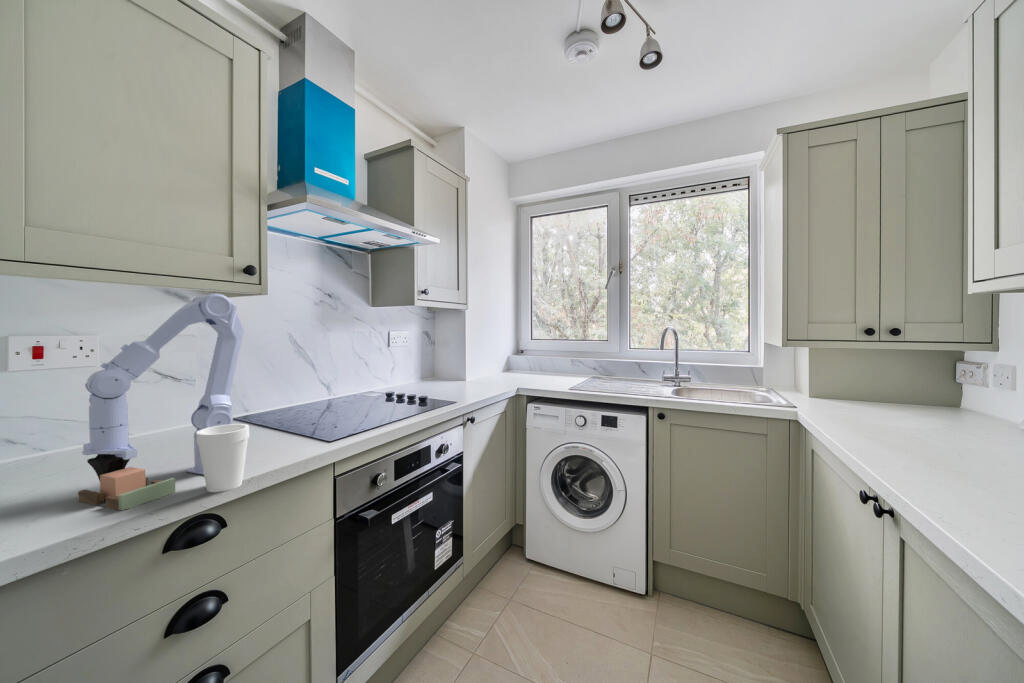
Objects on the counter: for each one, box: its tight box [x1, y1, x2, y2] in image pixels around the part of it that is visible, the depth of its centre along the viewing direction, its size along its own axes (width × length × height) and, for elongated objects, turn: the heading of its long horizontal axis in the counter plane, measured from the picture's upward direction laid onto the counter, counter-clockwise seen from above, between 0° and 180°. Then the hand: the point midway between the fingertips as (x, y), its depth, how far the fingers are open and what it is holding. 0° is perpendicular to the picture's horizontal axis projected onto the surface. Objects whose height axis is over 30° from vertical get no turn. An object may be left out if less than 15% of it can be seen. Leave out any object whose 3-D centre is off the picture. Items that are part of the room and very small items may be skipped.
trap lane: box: [77, 477, 176, 511], centre depth 80 cm, size 9×14×3 cm, turn 72°
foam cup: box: [197, 423, 250, 493], centre depth 85 cm, size 10×9×13 cm
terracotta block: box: [99, 466, 147, 501], centre depth 80 cm, size 5×5×5 cm
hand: (111, 488), depth 82 cm, fingers closed
